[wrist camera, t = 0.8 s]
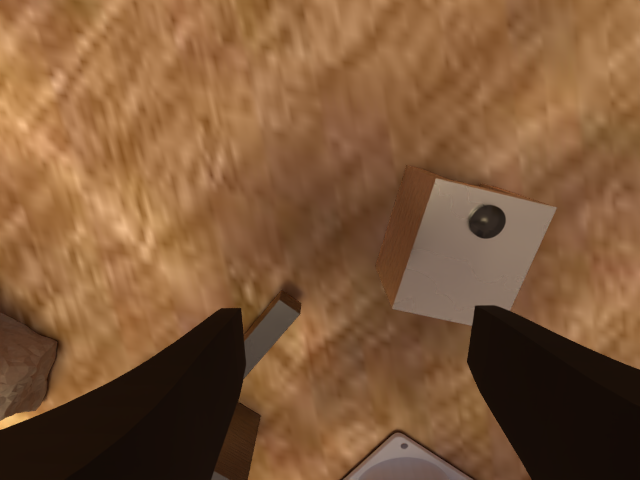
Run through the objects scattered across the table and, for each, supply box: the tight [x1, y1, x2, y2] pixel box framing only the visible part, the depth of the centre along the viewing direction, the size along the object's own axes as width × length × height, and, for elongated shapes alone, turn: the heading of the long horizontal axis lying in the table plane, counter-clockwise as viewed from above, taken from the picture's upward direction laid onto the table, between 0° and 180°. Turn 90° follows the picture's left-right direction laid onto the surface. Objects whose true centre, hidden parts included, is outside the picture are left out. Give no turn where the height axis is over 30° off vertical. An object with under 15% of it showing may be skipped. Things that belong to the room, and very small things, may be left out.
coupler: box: [211, 290, 301, 480], centre depth 20 cm, size 8×14×6 cm, turn 142°
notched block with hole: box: [375, 165, 557, 326], centre depth 17 cm, size 5×6×5 cm
